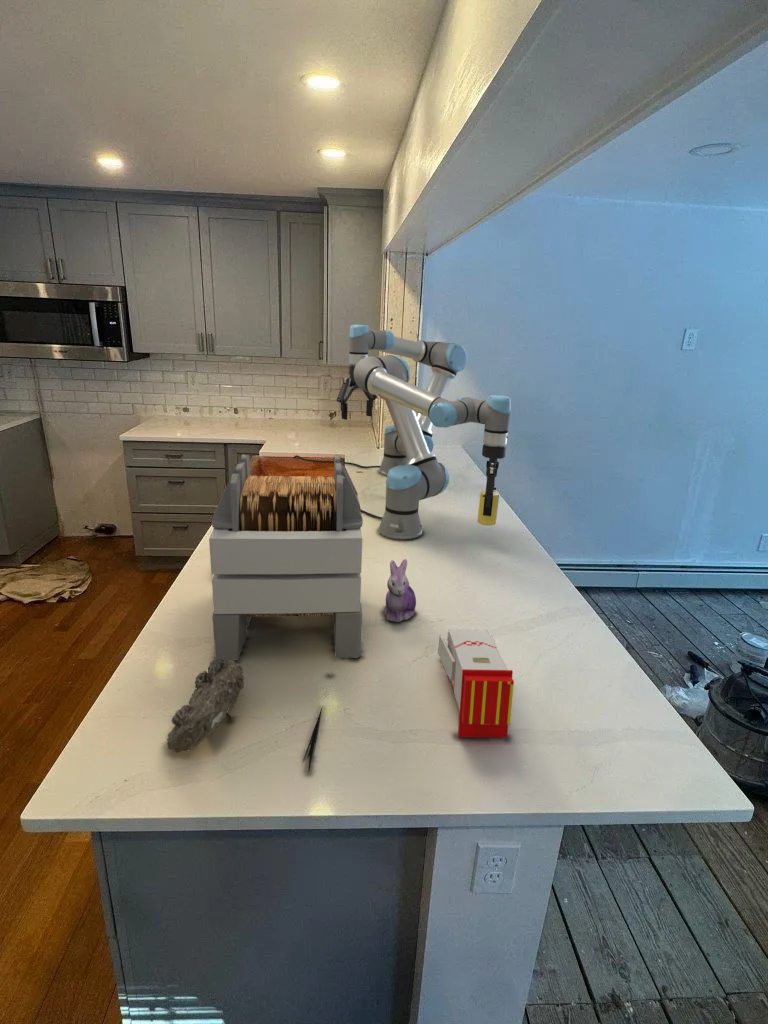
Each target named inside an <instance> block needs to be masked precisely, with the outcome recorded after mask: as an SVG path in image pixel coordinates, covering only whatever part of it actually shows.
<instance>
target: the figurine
mask: <svg viewBox="0 0 768 1024" xmlns="http://www.w3.org/2000/svg"><path fill="white" fill-rule="evenodd" d="M407 567H408V559H406V558H404V559H403V560H402V561H401V563H400V565H399V566H398V565H397V563H396V562H395V561H394V560H393V559H391V560H390V561H389V570H390V576H389V578H388V579H387V589H388V591H387V592H386V594H385V595H386V596H385V607H384V615H385V616H386V620H387V621H391V622H395V623H400V622H402V621H406V620H409V619H410V618H411V617H413V616H414V615H415V610H416V606H417V597H416V593H415V591H414V590H413V587H411V586H410V582H409V579H408V577H407V574H406V571H407Z"/></svg>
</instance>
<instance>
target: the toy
mask: <svg viewBox="0 0 768 1024" xmlns="http://www.w3.org/2000/svg"><path fill="white" fill-rule="evenodd" d="M446 640H447V643H446V641H445V639H444V636H443V635H442V634H439V637H438V646H437V656H438V657H439V659H440V661H441V663H442V666H443V668H444V670H445V672H446V674H447V677H448V679H449V681H450V684H451V687H452V690H453V693H454V697H455V701H456V705H457V708H458V711H459V714H458V715H459V716H458V730H457V731H458V732H457V737H458V738H508V731H509V726H510V725H511V717H512V707H513V697H514V696H513V695H514V684H515V680H514V679H513V673H514V671H513V670H512V669H508V667H507V665H506V662H505V661H504V659H503V658H502V655H501V653H500V651H499V649H498V647H497V643H496V639H495V637H494V635H493V634H491V632H490V631H489V629H467V628H466V629H465V628H463V629H461V628H460V629H459V628H448V630H447V639H446Z"/></svg>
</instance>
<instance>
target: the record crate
mask: <svg viewBox="0 0 768 1024" xmlns="http://www.w3.org/2000/svg"><path fill="white" fill-rule="evenodd" d="M333 461H334V463H333V469H334V470H333V476H327V477H325V476H321V475H319V476H314V477H313V476H311V475H309V476H307V475H290V476H283V475H279V476H278V475H265V476H264V475H259V476H258V475H251V459H250V454H243V453H242V454H241V456H240V459H239V461H238V462H237V464H236V466H235V469H234V471H233V473H232V474H231V475H230V478H229V479H228V482H227V484H226V486H225V489H224V491H223V493H222V496H221V498H220V500H219V502H218V504H217V507H216V508H215V511H214V513H213V516H212V518H211V527H212V528H213V529H212V531H211V534H210V535H209V538H208V543H209V559H210V574H211V575H213V576H212V579H211V587H212V588H211V589H212V600H213V601H212V603H213V612H212V629H213V630H212V631H213V640H214V649H215V657H214V660H217V661H224V660H227V659H228V660H231V659H232V660H234V661H238V660H239V658H240V654H241V653H242V649H243V647H244V645H245V642H246V640H247V636H248V632H247V630H248V629H247V627H249V626H250V624H251V623H250V622H251V618H253V617H254V618H255V617H258V618H259V617H264V618H265V617H267V618H268V617H292V616H293V617H308V616H310V617H311V616H333V618H332V619H333V626H334V627H333V636H334V638H333V639H334V640H333V641H334V658H337V659H342V658H344V659H345V658H347V659H349V658H352V659H358V658H359V657H361V656H362V633H363V632H362V631H363V630H362V629H363V611H362V603H361V590H362V576H361V574H362V563H363V562H362V561H363V534H362V529H361V528H362V527H363V525H364V524H363V523H364V519H363V515H362V512H361V510H362V509H361V505H360V499H359V494H358V492H357V489H356V487H355V485H354V483H353V481H352V478H351V477H350V474H349V472H348V470H347V468H346V466H345V465H346V464H344V463H343V462H344V461H343V459H342V456H341V455H336V454H334V458H333Z"/></svg>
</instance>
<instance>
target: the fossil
mask: <svg viewBox="0 0 768 1024" xmlns="http://www.w3.org/2000/svg"><path fill="white" fill-rule="evenodd" d="M243 670H244V669H243V667H242V665H240V664H237V662H236V660H232V659H231V660H228V659H227V660H221V661H217V660H215V659H212V660H211V661H210V663H209V665H208V666H207V671H201V672H199V673H198V674H197V675H196V676H195V680H194V684H195V685H194V687H195V689H194V690H193V693H192V694H191V697H190V698H189V700H188V704H184V705H182V706H181V707H180V709H177V710H176V711H175V713H174V715H173V716H172V718H171V723H172V724H173V727H172V730H171V731H170V732H168V734H167V738H166V741H167V742H166V745H167V749H168V750H169V751H173V752H174V753H176V754H178V753H182V752H188V751H189V752H192V751H193V750H195V748H196V747H197V746H199V744H200V743H201V742H203V741H204V740H205V739H206V738H207V737H208V736H209V735H210V734H211V733H212V732H214V730H215V729H217V727H218V726H219V724H220V722H221V721H222V720H223V719H224V718H225V716H226V717H227V719H229V720H233V717H232V715H230V714H229V710H230V709H231V708H234V706H235V704H236V703H237V702H238V699H239V697H240V695H241V693H242V691H243V690H245V689H244V688H245V675H244V671H243Z"/></svg>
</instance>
